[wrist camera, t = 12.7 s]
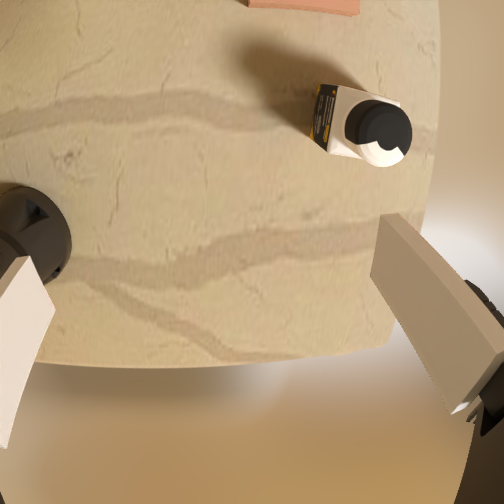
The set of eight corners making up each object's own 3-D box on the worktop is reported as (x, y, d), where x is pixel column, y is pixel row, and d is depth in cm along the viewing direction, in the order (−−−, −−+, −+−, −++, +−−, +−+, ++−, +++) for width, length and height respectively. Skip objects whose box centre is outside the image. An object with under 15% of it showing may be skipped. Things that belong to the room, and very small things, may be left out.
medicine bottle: (317, 82, 31) (360, 88, 21) (372, 94, 32) (428, 109, 22) (308, 138, 35) (344, 168, 25) (361, 147, 36) (410, 180, 26)
